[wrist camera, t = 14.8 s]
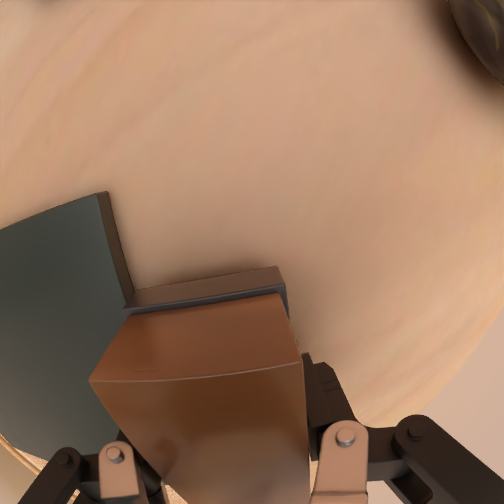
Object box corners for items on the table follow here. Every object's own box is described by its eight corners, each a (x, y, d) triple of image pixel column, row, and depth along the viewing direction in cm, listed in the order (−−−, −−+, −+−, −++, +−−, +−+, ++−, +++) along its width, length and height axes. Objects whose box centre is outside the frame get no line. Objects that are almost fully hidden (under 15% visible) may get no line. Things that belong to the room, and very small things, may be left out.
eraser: (204, 444, 11) (199, 517, 7) (136, 288, 9) (75, 372, 4) (298, 432, 11) (315, 506, 7) (277, 265, 9) (313, 349, 4)
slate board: (15, 441, 15) (12, 446, 14) (-78, 272, 9) (-85, 276, 8) (222, 475, 15) (222, 485, 14) (108, 190, 9) (96, 192, 8)
